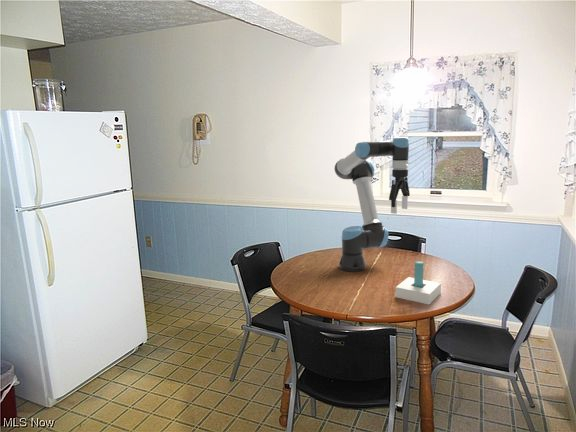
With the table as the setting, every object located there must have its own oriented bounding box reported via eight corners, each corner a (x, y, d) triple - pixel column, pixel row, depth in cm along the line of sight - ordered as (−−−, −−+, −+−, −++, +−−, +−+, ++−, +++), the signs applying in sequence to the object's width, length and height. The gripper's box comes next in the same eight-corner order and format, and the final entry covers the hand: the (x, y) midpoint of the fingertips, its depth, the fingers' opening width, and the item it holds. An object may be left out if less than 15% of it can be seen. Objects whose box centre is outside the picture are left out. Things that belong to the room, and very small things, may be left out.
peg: (412, 295, 201) (413, 263, 198) (415, 292, 204) (416, 261, 201) (420, 297, 199) (421, 264, 195) (423, 294, 202) (424, 262, 198)
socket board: (395, 297, 200) (395, 287, 199) (408, 286, 212) (408, 277, 211) (429, 304, 190) (429, 294, 189) (440, 293, 203) (441, 283, 202)
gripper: (397, 171, 198) (396, 216, 202) (416, 166, 217) (415, 207, 222) (382, 171, 202) (381, 214, 207) (402, 166, 222) (401, 206, 226)
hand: (399, 211), depth 214 cm, fingers open, 13 cm apart
